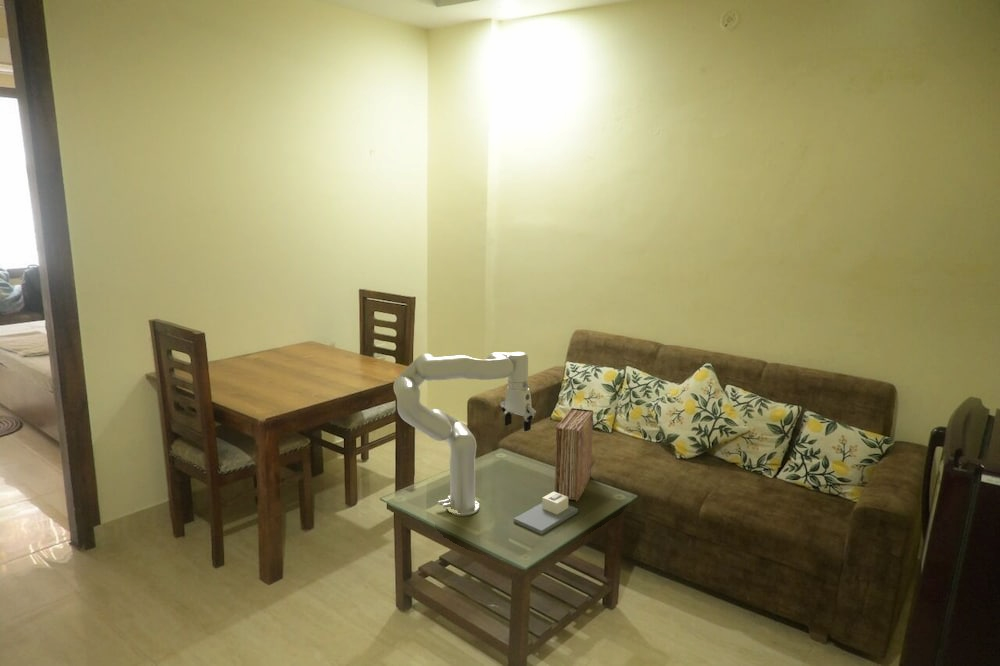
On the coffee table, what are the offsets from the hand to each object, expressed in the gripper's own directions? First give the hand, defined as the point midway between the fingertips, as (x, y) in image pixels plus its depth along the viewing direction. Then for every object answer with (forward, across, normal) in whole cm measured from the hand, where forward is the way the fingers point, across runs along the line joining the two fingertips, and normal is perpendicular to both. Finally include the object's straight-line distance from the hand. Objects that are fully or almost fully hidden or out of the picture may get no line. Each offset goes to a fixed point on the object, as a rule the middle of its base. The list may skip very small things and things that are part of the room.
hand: (517, 427), depth 237 cm
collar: (+29, -17, -3) cm, 33 cm away
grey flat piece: (+30, -17, +3) cm, 35 cm away
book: (+31, -10, -24) cm, 40 cm away
